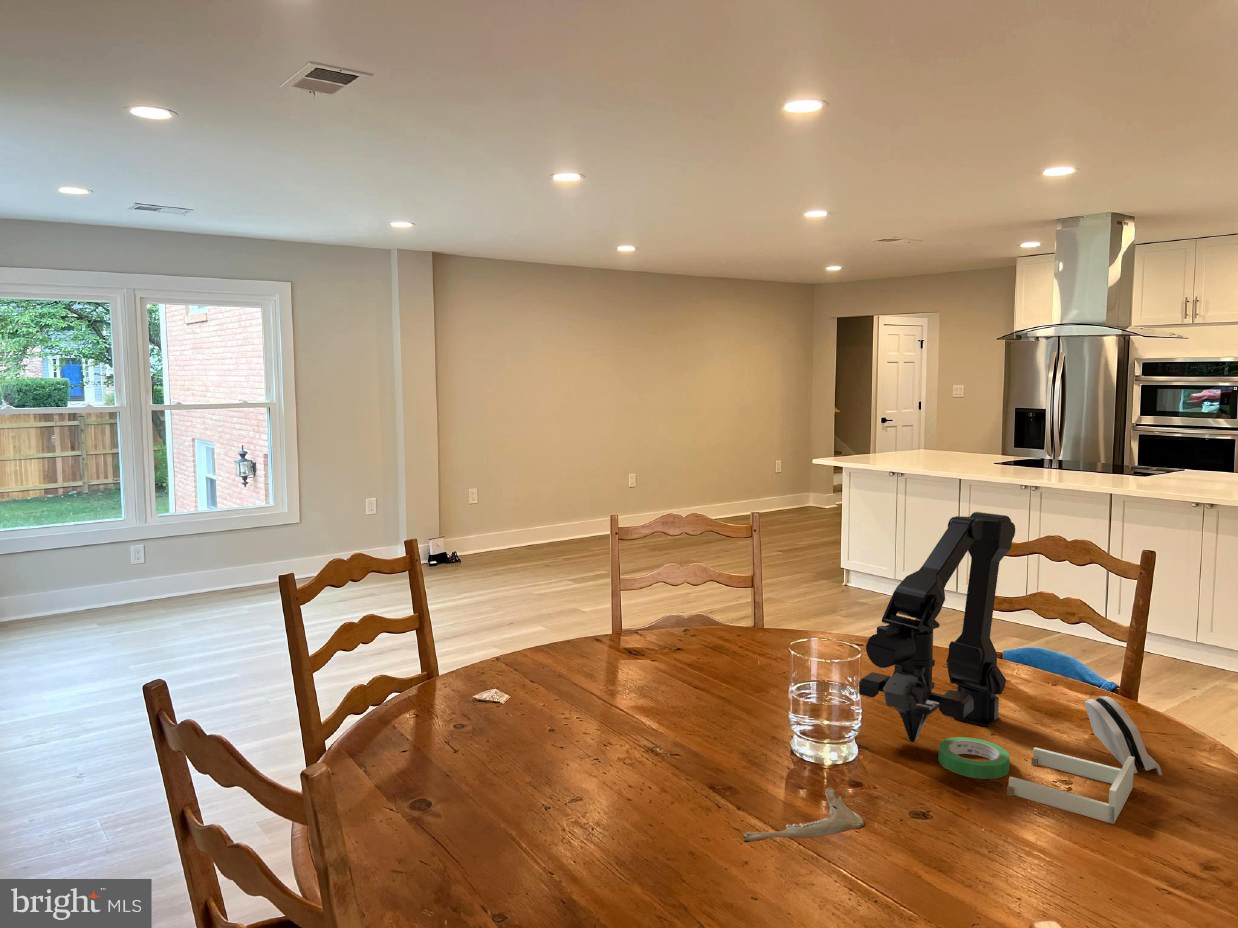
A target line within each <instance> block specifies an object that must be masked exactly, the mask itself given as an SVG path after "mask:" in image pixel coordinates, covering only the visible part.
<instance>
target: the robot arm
mask: <svg viewBox="0 0 1238 928" xmlns="http://www.w3.org/2000/svg"><path fill="white" fill-rule="evenodd" d="M1015 536H1016V525H1015V523H1014V522H1012V519H1011V518H1010V517H1009V516H1008V515H1007V514H1006V515H1004V514H998V513H987V512H982V511H974V512H973V513H971V514H970V516H961V515H959V516H958V515H956V516H953V517H951V518H949V521H948V522H947V529H946V530H945V531H944V533H943V534H942V536H941V537H940V539H939V540H938V541H937V543H936V545H935V546H934V548H933V549H932V550H931V553H929V555H928V557H927V559H926V560H925V561H924V562H923V565H922V566H921V567H920V568H919V570H917V571H914V572H913V573H910V574H909V575H906V576H905V578H904V579H902V581H901V582H900V583H899V584H898V585H897V586H896V587H895V589H894V590H893V593H892V595H891V598H890V599H889V602H888V604H887V605H886V609H885V611H884V614H883V615H882V618H881V623H884V624H886V625H879V626H877V627H876V633H875V634H872V635H871V636H870V637H869V638H868V639H867V643H866V644H865V648H866V649H865V650H866V654H867V657H868V659H869V661H870V662H871V663H872V664H873V665H874V666H876V667H878V668H880V669H886V668H890V667H892V666H894V670H893V673H892V675H891V676H890V675H887V674H882V673H878V672H875V671H874V672H873V671H872V672H870V673H869V674H866V675H865V676H863V677H862V678H860V679H859V681H858V683H859V693H860V694H859V693H858V694H859V696H863V697H868V698H873V699H874V698H875V697H876V696H878V695H879V693H880V692H881V693H883V694H884V701H885V705H886V706H888V707H889V708H894V709H895V710H896V711H897V712H898V713H899V716H900V717H901V720H902V723H903V725H904V728H905V732H906V734H907V737H908V740H909V741H910V742H912V743H916V741H917V740H918V737H919V736H920V733H921V731H922V729H923V727H924V724H925V722H926V721H927V718H928V717H929V715H932V714H933V712H935V711H936V710H937V709H938V710H939V712H941V713H940V714H942V715H943V716H945V717H950V718H953V719H955V720H959V721H963V722H966V723H971V724H975V725H979V726H982V727H990V726H991V724H993V723H994V722H995V721H996V720H997V719H998V718H999V703H1000V702H999V701H1000V698H999V696H997V695H1002V694H1003V691H1004V690H1005V687H1006V682H1007V679H1006V677H1005V676H1004V674H1003V673H1002V671H1001V669H1000V668H999V667H998V664H997V663H998V653H997V650H996V649H995V646H994V644H993V641H992V640H991V633H992V632H991V630H992V623H993V614H994V609H995V608H994V607H995V600H996V593H997V592H996V591H997V584H998V577H999V576H998V575H999V568H1000V562H1001V561H1002V559H1003V558H1004V557H1005V556H1006V555H1007V554H1008V553H1009V551H1010V550H1011V548H1012V543H1013V541H1014V538H1015ZM967 552H968V555H970V561H971V562H970V567H969V575H968V583H967V592H966V598H965V607H964V613H963V614H964V615H963V622H962V623H963V624H962V631H961V633H960V635H959V636H958V637H957V638H956V639H955V640H954V641H950V643H949V644H948V653H947V658H946V670H947V673H948V678H949V683H950V684H952V685H956V686H957V690H953V689H949V690H948V691H946V692H945V693H944V694H941V693H938V692H933V689H934V688H935V682H934V681H933V668H934V667H935V666H936V665H935V662H936V659H933V658H934V657H933V655H934V654H933V652H934V630H936V629H938V628H940V625H941V624H940V623H939V622H938V621H937V620H936V618H937V617H938V616H939V614H940V613H941V612H942V611H941V610H942V608H943V605H944V603H945V602H946V593H945V588H946V586H947V583H948V582H949V581H950V579H951V578H952V575H953V574H954V573H955V571H956V570H957V568H958V566H959V565H960V563H961V562H962V560H963V559H964V557H965V555H966V554H967ZM898 614H899V615H898ZM908 617H909V618H908Z"/></svg>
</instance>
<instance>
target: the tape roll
mask: <svg viewBox="0 0 1238 928" xmlns="http://www.w3.org/2000/svg"><path fill="white" fill-rule="evenodd" d="M960 755H974V756H979V757H983V758H985V759H988V760H976V759H970V758H966V757H962V756H960ZM937 757H938V759H937V760H938V762H939V764H940V765H941V766H942V767H943V768H944V769H946V770H948V771H950V772H952V773H954V774H957V775H960V776H963V777H967V778H972V779H981V780H983V779H985V780H988V779H989V780H992V779H999V778H1002V777H1004V776H1006V775H1008V774H1009V771H1010V758H1011V757H1010V754H1009V753H1008V751H1007V750H1006V749H1004V748H1003V747H1001V746H999V745H998V744H995V743H994V742H991V741H987V740H984V739H979V738H974V737H964V736H958V737H949V738H946V739H943V740H941V742H940V743H939V744H938V756H937Z"/></svg>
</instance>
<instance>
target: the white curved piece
mask: <svg viewBox="0 0 1238 928" xmlns="http://www.w3.org/2000/svg"><path fill="white" fill-rule="evenodd" d="M1083 703H1084V707H1085V709H1086V713H1087V717H1088V719H1089V721H1090V722H1089V723H1090V725H1091V729H1092V731H1093V734H1094V735H1095V737H1097V739H1098V740H1099V741H1100V742H1101V743H1102V744H1103V745H1104V747H1105V748H1106V749H1107V750H1108V751H1109V752H1110V753H1111V754H1112V755H1113V757H1114V758H1115V759H1116V760H1117V761H1118V762H1119V763H1120V764H1121V766H1123V765H1124V763H1125V762H1126V760H1127V758H1128V756H1132V757H1135V759H1134V774H1138V771H1140V769H1141V770H1144V771H1145V772H1146V771H1150V770H1154V771H1155V772H1156V774H1157V775H1158V776H1163V772H1162V769H1161V766H1160V764H1158V762H1157V761H1155V759H1154V758H1152V756H1151V755H1149V754H1148V752H1147V749H1146V746H1145V744H1144V741H1143V739H1142V735H1141V733H1140V731H1139V729H1138V727H1137V725H1136V724H1135V723H1134V721H1133V719H1131V717H1130V716H1129V715H1128V713H1127V711H1125V710H1124V708H1123V707H1122V706H1121V705H1120V704H1118V702H1117V701H1115V700H1114V699H1113V698H1112V697H1110V696H1106V695H1104V696H1097V698H1096V699H1093V698H1090V699H1087V700H1085V701H1084V702H1083ZM1139 768H1140V769H1139Z"/></svg>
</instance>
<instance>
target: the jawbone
mask: <svg viewBox="0 0 1238 928" xmlns="http://www.w3.org/2000/svg"><path fill="white" fill-rule="evenodd" d="M824 791H825V792H824V794H825V797H826V801H827V804H828V808H829V810H828V811H829V814H828V818H827V817H826V818H825V817H824V818H823V819H822V818H820V820H819V819H817V821H816V820H814V821H810V822H806V823H802V822H800V823H799V824H798V823H793V824H786V825H785V828H786V829H783V830H779V831H778V830H777V831H766V832H765V831H761V832H760V831H748V830H747V832H744V834H743V841H748V842H753V841H755V842H756V841H759V840H765V839H773V838H795V839H797V838H798V839H799V838H802V839H803V838H804V839H808V838H819V837H820V838H821V837H826V836H830V835H836V834H839V833H843V832H845V831H848V830H852V829H861V828H862V827H863V826H864V825H865V821H864V819H863V817H862V816H861V815H860V814H858V813H857V812H855V811H853V810H852V809H851V808H849V807H848V806H846V805H845V803H844V801H843V796H842V795H839V796H838V798H837V797H836V796H835V793H836V790H834V789H833V787H827V788H826V789H825V790H824Z"/></svg>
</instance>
